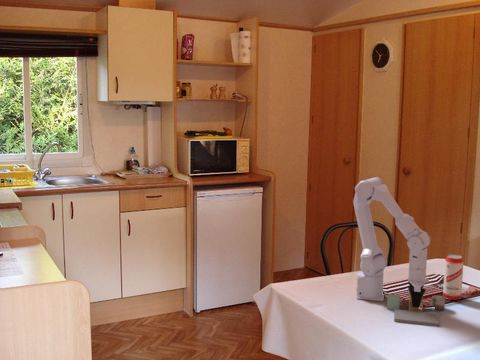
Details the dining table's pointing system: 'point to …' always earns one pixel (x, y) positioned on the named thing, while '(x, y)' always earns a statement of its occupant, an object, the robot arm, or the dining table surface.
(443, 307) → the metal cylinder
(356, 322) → the dining table surface
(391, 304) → the olive green cube
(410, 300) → the oak block
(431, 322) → the slate board
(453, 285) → the beer can
